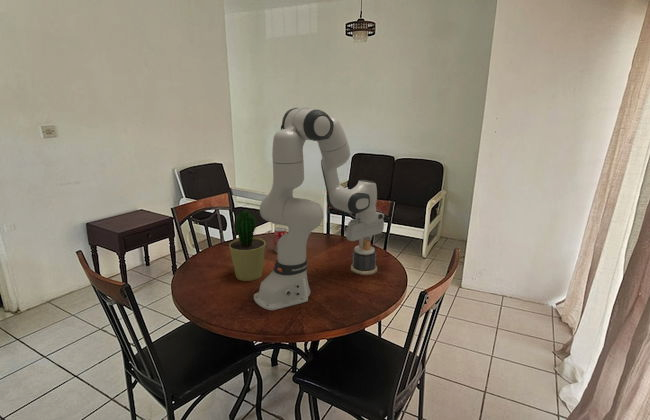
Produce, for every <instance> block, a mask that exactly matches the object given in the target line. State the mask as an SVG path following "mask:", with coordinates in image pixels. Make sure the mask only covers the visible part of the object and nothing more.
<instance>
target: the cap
mask: <svg viewBox="0 0 650 420" xmlns="http://www.w3.org/2000/svg"><path fill="white" fill-rule="evenodd" d="M362 241H363V243H365V246H364V247H360V243H359V242H358V245H356V246H355V247H354V250H355V252H356V253H358V254H359V255H364V256H366V255H371V254H373V253H374V252H376V250H375V249H376V248H375V247H374V246H372V245H371V241H368V240H367V238H363V240H362Z"/></svg>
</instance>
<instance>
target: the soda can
mask: <svg viewBox="0 0 650 420" xmlns="http://www.w3.org/2000/svg"><path fill="white" fill-rule="evenodd" d="M286 234H288V230H287V228H286V227H276V228H275V229H274V231H273V249H274V252H275V253H277V242H278V240H279V239H280V238H281V237H282V236H284V235H286Z"/></svg>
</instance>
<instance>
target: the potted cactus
mask: <svg viewBox="0 0 650 420" xmlns="http://www.w3.org/2000/svg"><path fill="white" fill-rule="evenodd" d="M252 213H253V212H252ZM252 213H251V211H250V210H242V211H241V212H239V213H237V216H236V217H235V219H236V220H234V221H235V222H236V228H235V229H236V230H235V233H237V237H238V239H235V240H233V241H231V242H229V244H228V246H229V252H230V256H231V260H232V261H231V262H232V265H233V269H234V273H235V277H236V279H237V280H240V281H243V282H251V281H256V280H258V279H260V278H261V277H262V276H263V271H264V261H265V260H264V259H265V251H266V244H267V243H266V241H265V240H264V239H262V238H258V237H255V236H256V234H255V230H256V229H257V227H256V226H257V224H256V218H255V216H254V215H253V214H252Z"/></svg>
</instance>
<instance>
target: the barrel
mask: <svg viewBox="0 0 650 420" xmlns="http://www.w3.org/2000/svg"><path fill="white" fill-rule="evenodd" d="M376 263H377V251H375V252H374V253H373V254H371V255H366V256H364V255H359V254H358V253H356V252H355V249H354V250H353V251H352V263H351V265H350V271H351V273H354V274H355V275H361V276H371V275H375V274H376V273H377V272H378V266H377V264H376Z"/></svg>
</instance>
